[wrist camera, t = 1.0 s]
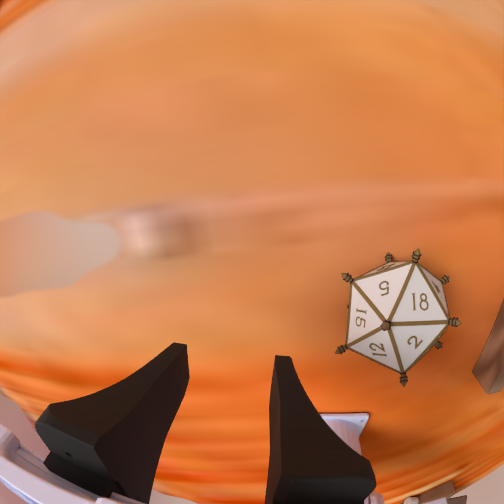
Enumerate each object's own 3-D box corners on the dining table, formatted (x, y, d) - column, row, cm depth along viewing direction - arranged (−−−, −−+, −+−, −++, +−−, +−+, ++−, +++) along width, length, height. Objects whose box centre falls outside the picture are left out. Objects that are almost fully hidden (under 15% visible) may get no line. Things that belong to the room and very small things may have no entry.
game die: (383, 255, 24) (486, 253, 15) (376, 349, 23) (472, 372, 14) (305, 247, 20) (435, 240, 11) (297, 366, 19) (412, 417, 10)
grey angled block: (422, 472, 34) (476, 473, 32) (382, 506, 37) (438, 506, 35) (430, 499, 27) (485, 494, 25) (385, 532, 30) (444, 527, 27)
